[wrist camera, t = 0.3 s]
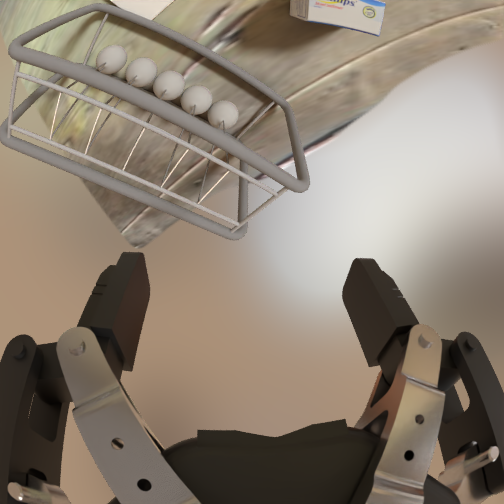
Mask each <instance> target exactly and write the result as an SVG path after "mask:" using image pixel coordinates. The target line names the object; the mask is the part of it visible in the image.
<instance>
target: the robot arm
mask: <svg viewBox="0 0 504 504" xmlns="http://www.w3.org/2000/svg"><path fill="white" fill-rule="evenodd" d="M149 298H150V284H149V279H148V274H147V269H146V263H145V258H144V254H143V253H140V252H123V253H122V254H121V256H120V259H119V260H118V262H117V265H110V266H109V267H108V268H107V269H106V270H104V272H102V273H101V275H100V277H99V279H98V281H97V283H96V286H95V287H94V289H93V291H92V295H90V297H89V300H88V302H87V304H86V306H85V308H84V311H83V313H82V315H81V318H80V320H79V323H78V325H77V327H74V328H71V329H69V330H67V331H66V332H65V333H63V334H62V336H61V337H60V338H59V340H58V342H55V343H48V344H41V345H37V344H36V343H35V341H34V340H33V338H32V337H30V336H28V335H19V336H16V337H15V338H13V339H12V340H11V341H10V342H9V343H8V345H7V347H6V349H5V351H4V354H3V356H2V359H1V362H0V504H71V502H70V501H69V500H68V497H67V496H66V494H65V493H64V491H63V490H62V489H61V488H60V474H61V461H62V450H63V442H64V434H65V427H66V421H67V414H68V409H69V404H70V402H74V405H75V408H74V409H73V410H72V412H73V417H74V420H75V422H76V424H77V427H78V429H79V431H80V433H81V435H82V437H83V440H84V442H85V444H86V446H87V448H88V450H89V452H90V453H91V455H92V457H93V459H94V461H95V463H96V465H97V466H98V468H99V470H100V472H101V473H102V475H103V477H104V478H105V480H106V482H107V483H108V485H109V487H110V488H111V490H112V491H113V493H114V494H115V496H116V497H115V498H113V499H112V500H111V501H110V502H109V503H108V504H480V503H482V502H483V501H484V500H486V499H487V498H488V497H491V496H493V495H496V494H498V493H500V492H503V491H504V393H503V390H502V388H501V385H500V383H499V381H498V378H497V376H496V374H495V372H494V370H493V368H492V365H491V363H490V361H489V360H488V357H487V355H486V353H485V351H484V349H483V347H482V346H481V344H480V342H479V340H478V339H477V338H476V337H475V336H474V335H472V334H471V333H469V332H461V333H460V334H459V335H458V336H457V337H456V339H455V340H454V341H452V340H445V339H441V338H440V336H439V335H438V333H437V332H436V331H435V330H434V329H433V328H431V327H429V326H427V325H424V324H419V322H418V320H417V319H416V317H415V315H414V313H413V312H412V310H411V308H410V306H409V305H408V303H407V301H406V300H405V298H403V295H402V293H401V292H400V290H398V287H397V285H396V284H395V282H394V280H393V279H392V278H391V277H390V276H389V275H387V274H386V273H385V272H384V271H382V270H381V269H380V267H379V266H378V264H377V263H376V261H375V260H374V259H367V258H356V259H354V261H353V262H352V265H351V268H350V271H349V273H348V276H347V279H346V281H345V284H344V287H343V291H342V298H343V302H344V305H345V307H346V309H347V312H348V314H349V317H350V319H351V322H352V324H353V327H354V329H355V332H356V334H357V337H358V339H359V342H360V344H361V347H362V350H363V352H364V355H365V358H366V360H367V363H368V366H369V367H373V366H378V365H380V367H381V369H382V370H381V371H380V372H379V374H378V376H377V380H376V382H375V385H374V387H373V390H372V393H371V395H370V398H369V401H368V403H367V406H366V408H365V410H364V412H363V414H362V416H361V418H360V419H359V420H358V421H357V423H356V425H355V426H354V428H353V427H347V424H346V420H345V419H342V420H337V421H332V422H325V423H320V424H312V425H310V426H307V427H305V428H302V429H299V430H297V431H294V432H291V433H289V434H286V435H283V436H279V437H269V436H263V435H257V434H251V433H246V432H241V431H236V430H231V431H230V430H226V431H222V430H198V434H197V435H198V436H197V437H195V438H190V439H187V440H184V441H181V442H178V443H176V444H174V445H172V446H171V447H169V448H167V449H166V450H165V449H164V447H163V446H162V445H161V443H160V442H159V441H158V439H157V438H156V436H155V435H154V434H153V432H152V431H151V429H150V428H149V427H148V425H147V424H146V422H145V421H144V419H143V418H142V416H141V415H140V413H139V411H138V410H137V408H136V407H135V405H134V403H133V401H132V400H131V398H130V396H129V395H128V393H127V391H126V389H125V388H124V386H123V384H122V382H121V380H120V379H121V374H122V370H124V371H132V370H133V365H134V361H135V356H136V351H137V347H138V342H139V338H140V334H141V330H142V325H143V322H144V318H145V313H146V310H147V306H148V302H149ZM460 378H461V379H462V381H463V383H464V386H465V388H466V391H467V393H468V396H469V399H470V404H469V407H468V409H467V410H466V411H465V412H464V410H463V408H462V405H461V402H460V400H459V397H458V394H457V392H456V389H455V387H454V384H455V383H456V382H457V381H458V380H459V379H460ZM33 395H34V397H33ZM32 399H33V401H32ZM31 403H32V405H31ZM30 407H31V409H30ZM29 411H30V414H29ZM28 417H29V418H28ZM437 437H438V440H439V444H440V447H441V452H442V456H443V460H444V464H445V469H444V471H442V472H441V473H440V474H439V477H438V480H436V479H435V478H433V477H432V476H430V475H428V474H427V473H428V469H429V467H430V463H431V460H432V456H433V453H434V449H435V445H436V441H437Z"/></svg>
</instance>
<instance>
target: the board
mask: <svg viewBox="0 0 504 504" xmlns="http://www.w3.org/2000/svg"><path fill="white" fill-rule="evenodd" d="M110 1H112V2H113V3H114V4H116V5H117V6H118V7H120V8H121V9H124V10H126V11H129V12H132V13H134V14H137V15H139V16H142V17H144V18H147V19H149V20H151V21H152V20H153V19H154V18H155V17H156V16H157V15H159V14H160V13H161V12H162V11H163V10H164V9H165V8H166V7H168V6H169V5H170V4H171V3H172V2H174V1H175V0H110Z"/></svg>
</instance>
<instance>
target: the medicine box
mask: <svg viewBox="0 0 504 504" xmlns="http://www.w3.org/2000/svg"><path fill="white" fill-rule="evenodd" d="M385 5H386V4H385V3H384V2H382V1H378V0H291V1H290V16H293V17H296V18H299V19H302V20H304V21H308V22H315V23H321V24H327V25H332V26H338V27H342V28H347V29H352V30H356V31H360V32H364V33H368V34H372V35H375V36H380V30H381V25H382V20H383V15H384V10H385Z"/></svg>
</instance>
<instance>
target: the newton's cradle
mask: <svg viewBox="0 0 504 504" xmlns="http://www.w3.org/2000/svg"><path fill="white" fill-rule="evenodd" d="M94 11H101V12H106V15H105V17H104V19H103V21H102V23H101V25H100V27H99V29H98V31H97V33H96V35H95V37H94V39H93V42H92V44H91V46H90V48H89V51H88V53H87V56H86V58H85V61H84V63H83V64H82V63H74V62H71V61H68V60H65V59H62V58H59V57H56V56H53V55H50V54H47V53H44V52H40V51H37V50H33V49H30V48H26V47H23V45H25V44H27V43H28V42H30V41H32V40H34V39H35V38H37V37H39V36H41V35H43V34H45V33H46V32H48V31H50V30H52V29H54V28H56V27H58V26H60V25H63V24H65V23H67V22H69V21H71V20H74V19H76V18H78V17H81V16H83V15H86V14H88V13H91V12H94ZM109 14H112V15H115V16H117V17H120V18H123V19H125V20H128V21H131V22H133V23H136V24H138V25H141V26H143V27H145V28H148V29H150V30H152V31H154V32H157V33H159V34H161V35H163V36H165V37H167V38H170V39H172V40H174V41H176V42H178V43H180V44H182V45H184V46H186V47H187V48H189V49H191V50H193V51H195V52H197V53H199V54H201V55H202V56H204V57H206V58H208V59H210V60H211V61H213V62H215V63H216V64H218V65H220V66H222V67H223V68H225V69H226V70H228V71H230V72H231V73H233V74H235V75H236V76H238V77H239V78H241V79H242V80H244V81H246V82H247V83H249V84H250V85H252V86H253V87H255V88H256V89H258V90H259V91H261V92H262V93H263V94H265V95H266V96H268V97H269V98H271V99H272V100H273V101H272V102H271V103H270V104H269V105H268V106H267V107H266V108H265V109H264V110H263V111H262V112H261V113H260V114H259V115H258V116H257V117H256V118H255V119H254V120H253V121H252V122H251V123H250V124H249V125H248V126H247V127H246V128H245V129H244V130H243V131H242V132H241V133H240V134H239V135H238V137H237V138H235V137H233V136H232V135H230V134H228V133H227V132H225V129H228V128H230V127H232V126H233V125H234V124H235V123H236V122H237V119H238V109H237V108H236V106H235V105H234V104H233V103H231V102H229V101H225V100H221V101H217V102H215V103H214V104H213V105H212V106H211V103H212V95H211V92H210V91H209V90H208V89H207V88H206V87H204V86H201V85H194V86H191V87H189V88H187V89H186V90H185V91H184V92H183V90H184V87H185V81H184V78H183V76H182V75H181V74H180V73H178V72H176V71H165V72H162V73H161V74H159V75H158V76H157V77H156V75H157V66H156V64H155V62H154V61H153V60H151V59H149V58H145V57H142V58H137V59H135V60H134V61H132V62H131V63H130V64H129V65H128V67H127V69H126V73H125V76H126V79H127V81H128V82H127V81H125V80H122V79H120V78H118V77H115V76H113V75H111V74H113V73H116V72H118V71H119V70H121V69H122V68H123V67H124V65H125V63H126V61H127V52H126V50H125V49H124V48H123V47H121V46H119V45H110V46H107V47H105V48H104V49H102V50H101V51H100V53H99V54H98V56H97V59H96V66H97V68H93V67H91V66H88V65H86V62H87V60H88V57H89V55H90V53H91V50H92V48H93V46H94V44H95V41H96V39H97V37H98V35H99V33H100V31H101V29H102V27H103V25H104V23H105V21H106V19H107V17H108V15H109ZM8 54H9V55H10V57H11V58H12V59H15V60H17V62H16V67H15V73H14V78H13V84H12V90H11V99H10V108H9V116H8V118H7V119H6V120H5V121H4V122H3V123H2V125H1V126H0V141H1V143H2V144H3V145H5V146H6V147H9V148H11V149H14V150H16V151H18V152H21V153H23V154H26V155H28V156H30V157H33V158H35V159H38V160H40V161H42V162H45V163H48V164H50V165H52V166H54V167H57V168H59V169H62V170H64V171H66V172H69V173H72V174H74V175H76V176H78V177H81V178H83V179H86V180H88V181H90V182H93V183H95V184H98V185H100V186H102V187H105V188H107V189H110V190H112V191H114V192H117V193H119V194H122V195H124V196H126V197H129V198H131V199H134V200H136V201H138V202H141V203H143V204H145V205H148V206H150V207H153V208H155V209H157V210H160V211H162V212H164V213H167V214H169V215H172V216H174V217H176V218H179V219H181V220H184V221H186V222H189V223H191V224H193V225H196V226H198V227H200V228H203V229H205V230H207V231H210V232H212V233H214V234H217V235H219V236H222V237H224V238H226V239H230V240H239V239H241V238H242V237H244V236H245V234H246V232H247V227H248V221H249V220H250V219H251V218H252V217H254V216H255V215H256V214H258V213H259V212H260V211H261V210H263V209H264V208H265V207H266V206H268V205H269V204H270V203H272V202H273V201H274V200H276V199H277V198H278V197H279V196H281V195H282V194H283V193H284V192H286V191H287V190H288V189H290V190H292V191H294V192H298V193H302V192H304V191H306V190H308V188H309V185H310V178H309V173H308V169H307V164H306V160H305V156H304V151H303V147H302V143H301V139H300V135H299V131H298V127H297V123H296V120H295V116H294V112H293V109H292V107H291V106H290V105H289V103H288V102H287V101H286V100H285V99H284V98H283V97H281V96H280V95H279V94H277V93H276V92H275V91H273V90H272V89H271V88H269V87H268V86H266V85H265V84H263V83H262V82H261V81H259V80H258V79H256V78H255V77H253V76H252V75H250V74H249V73H247V72H246V71H244V70H243V69H241V68H240V67H238V66H236V65H235V64H233V63H232V62H230V61H228V60H227V59H225V58H223V57H222V56H220V55H218V54H217V53H215V52H213V51H211V50H210V49H208V48H206V47H204V46H202V45H201V44H199V43H197V42H195V41H193V40H191V39H189V38H187V37H185V36H183V35H181V34H179V33H177V32H175V31H173V30H171V29H169V28H167V27H165V26H163V25H160V24H158V23H156V22H154V21H151V20H149V19H147V18H144V17H142V16H139V15H137V14H134V13H132V12H129V11H126V10H124V9H121V8H118V7H115V6H112V5H109V4H102V3H96V4H91V5H88V6H85V7H82V8H79V9H77V10H74V11H71V12H69V13H66V14H64V15H61V16H59V17H57V18H54V19H52V20H50V21H48V22H45V23H43V24H41V25H39V26H37V27H35V28H33V29H31V30H29V31H27V32H25V33H24V34H22V35H20V36H18V37H17V38H16V39H14V40H13V41H12V43H11V44H10V45H9V48H8ZM21 62H23V63H27V64H30V65H33V66H36V67H39V68H42V69H45V70H48V71H51V72H54V73H56V74H54V75H53V76H52V77H51V78H49V79H48V80H47V81H45V80H42V79H39V78H36V77H33V76H30V75H27V74H24V73H21V72H19V68H20V64H21ZM63 76H65V77H68V78H71V79H73V80H76V81H75V82H74V83H72V84H71V85H70V86H68V87H67V88H64V87H62V86H59V85H56V84H55V83H56V82H57V81H58V80H60V79H61V78H62V77H63ZM18 77H20V78H23V79H26V80H29V81H32V82H35V83H38V84H41V86H40V87H39V88H38V89H36V90H35V91H34V92H33V93H32V94H31V95H30V96H29V97H28V98H27V99H25V100H24V101H23V102H22V104H20V105H19V106H18V107H17V108H16V109H15V110H14V111H13V104H14V97H15V90H16V84H17V78H18ZM155 77H156V79H155ZM154 79H155V81H154V83H153V91H154V93H155V94H153V93H151V92H149V91H147V90H145V89H143V88H140V87H144V86H146V85H148V84H150V83H151V82H152V81H153V80H154ZM78 81H79V82H81V83H84V84H86V85H88V86H87V87H86V88H85V89H84V91H85V90H86V89H87V88H88V87H89V86H91V87H94V88H96V89H99V90H101V91H104V92H106V93H108V94H111V95H113V97H112V98H111V99H110V100H108V101H107V102H106V103H105V104H104V103H102V102H99V101H97V100H95V99H92V98H90V97H87V96H85V95H82V94H83V93H84V91H83V92H82V93H81V94H80V93H77V92H75V91H72V90H70V89H68V88H70V87H71V86H72V85H74V84H75V83H77V82H78ZM49 88H52V89H54V90H57V91H60V96H61V93H65V94H68V95H70V96H73V97H75V98H77V100H76V101H75V102H74V104H73V105H72V106H71V108H70V109H69V110H68V112H67V113H66V115H65V116H64V117H63V119H62V120H61V122H60V123H59V125H58V126H57V128H56V129H55V131H54V132H53V134H52V130H53V125H54V120H55V116H56V112H57V107H58V103H59V100H60V96H59V99H58V103H57V107H56V111H55V116H54V120H53V125H52V130H51V135H52V136H51V135H50V139H47V138H45V137H42V136H40V135H37V134H35V133H32V132H30V131H27V130H25V129H22V128H19V127H17V126H14V125H13V124H14V123H15V122H16V121H17V120H18V119H19V117H20V116H21V115H22V114H23V113H24V112H25V111H26V110H27V109H28V108H29V107H30V106H31V105H32V104H33V103H34V102H35V101H36V100H37V99H38V98H39V97H40V96H41V95H43V94H44V93H45V92H46V91H47V90H48V89H49ZM182 92H183V94H182V96H181V105H182V108H181V107H179V106H177V105H175V104H173V103H171V102H169V101H167V100H173V99H175V98H177V97H178V96H180V95H181V93H182ZM114 97H118V98H120V99H119V101H118V102H117V103H116V105H115V106H114V107H111V106H109V105H107V104H108V103H109V102H110V101H111V100H112V99H113V98H114ZM78 99H80V100H83V101H85V102H88V103H90V104H93V105H95V106H97V107H100V108H101V109H104V110H107V111H109V112H110V113H109V115H108V116H107V118H106V119H105V121H104V122H103V124H102V125H101V127H100V129H99V130H98V132H97V133H96V135H95V137H94V138H93V140H92V142H91V143H90V140H91V137H92V134H93V131H94V128H95V125H96V122H97V120H98V117H99V115H100V112H101V109H100V111H99V114H98V117H97V119H96V122H95V125H94V128H93V130H92V133H91V136H90V139H89V142H88V145H87V149H86V152H85V154H83V153H81V152H79V151H76V150H74V149H71V148H69V147H67V146H64V145H62V144H59V143H57V142H54V141H52V140H51V139H52V137H53V135H54V134H55V132H56V131H57V129H58V128H59V126H60V124H61V123H62V122H63V120H64V119H65V117H66V116H67V114H68V113H69V111H70V110H71V109H72V107H73V106H74V105H75V103H76V102H77V101H78ZM121 99H122V100H124V101H127V102H129V103H131V104H133V105H136V106H138V107H140V108H142V109H144V110H146V111H148V112H151V115H150V116H149V118H148V120H147V122H145V121H142V120H140V119H138V118H136V117H134V116H132V115H129V114H127V113H125V112H123V111H120V110H118V109H116V108H115V107H116V106H117V104H118V103H119V102H120V100H121ZM275 102H276V103H277V104H278V105H279V106H280V107H281V108H282V109H283V110H284V112H285V116H286V121H287V126H288V131H289V136H290V141H291V146H292V151H293V156H294V161H295V167H296V172H297V178H298V179H296V178H295V177H293V176H292V175H290V174H289V173H287V172H286V171H284V170H283V169H281V168H280V167H278V166H277V165H275V164H273V163H272V162H270V161H269V160H267V159H266V158H264V157H262V156H261V155H259V154H258V153H256V152H254V151H253V150H251V149H250V148H248V147H246V146H245V145H244V144H243V143H242V142H241V141H240V140H238V139H239V138H240V137H241V136H242V135H243V134H244V133H245V132H246V131H247V130H248V129H249V128H250V127H251V126H252V125H253V124H254V123H255V122H256V121H257V120H258V119H259V118H260V117H261V116H262V115H263V114H264V113H265V112H266V111H267V110H268V109H269V108H270V107H271V106H272V105H273V104H274V103H275ZM210 106H211V107H210ZM209 107H210V108H209ZM208 109H209V110H208ZM207 110H208V120H209V122H210V123H209V122H207V121H205V120H204V119H202V118H200V117H198V116H196V115H197V114H202V113H204V112H205V111H207ZM111 113H114V114H116V115H118V116H121V117H123V118H125V119H127V120H129V121H132V122H134V123H136V124H138V125H140V126H143V129H142V131H141V133H140V135H139V137H138V138H137V140H136V142H135V144H134V146H133V148H132V150H131V152H130V154H129V156H128V158H127V161H126V163H125V165H124V167H123V169H122V170H121V169H119V168H116V167H114V166H112V165H109V164H107V163H105V162H102V161H100V160H98V159H95V158H93V157H91V156H88V155H86V154H87V152H88V150H89V148H90V146H91V145H92V143H93V141H94V140H95V138H96V136H97V135H98V133H99V132H100V130H101V128H102V127H103V125H104V124H105V122H106V121H107V119H108V118H109V116H110V115H111ZM153 114H155V115H157V116H159V117H161V118H163V119H165V120H167V121H169V122H171V123H173V124H175V125H177V126H179V127H181V128H183V130H182V132H181V134H180V137H179V138H178V137H176V136H174V135H172V134H170V133H167V132H165V131H163V130H161V129H159V128H157V127H155V126H153V125H151V124H149V121H150V119H151V117H152V115H153ZM145 128H147V129H149V130H151V131H153V132H155V133H157V134H159V135H162V136H164V137H166V138H168V139H170V140H172V141H174V142H176V143H177V144H176V147H175V149H174V152H173V154H172V157H171V159H170V162H169V165H168V167H167V170H166V173H165V175H164V178H163V181H162V184H161V186H157V185H155V184H153V183H151V182H148V181H146V180H144V179H142V178H139V177H137V176H135V175H132V174H130V173H128V172H126V171H124V169H125V167H126V165H127V162H128V160H129V158H130V156H131V154H132V152H133V150H134V148H135V146H136V144H137V142H138V140H139V139H140V137H141V135H142V133H143V131H144V129H145ZM11 129H12V130H15V131H17V132H20V133H22V134H25V135H27V136H30V137H32V138H35V139H37V140H40V141H42V142H45V143H47V144H50V145H52V146H55V147H57V148H59V149H62V150H64V151H67V152H69V153H71V154H74V155H76V156H79V157H81V158H83V159H86V160H88V161H90V162H93V163H95V164H98V165H100V166H102V167H105V168H107V169H109V170H112V171H114V172H116V173H119V174H121V175H123V176H126V177H128V178H130V179H133V180H135V181H137V182H139V183H142V184H144V185H146V186H149V187H151V188H153V189H155V190H158V191H160V192H162V193H165V194H167V195H169V196H171V197H174V198H176V199H178V200H180V201H183V202H185V203H187V204H189V205H192V206H194V207H196V208H198V209H200V210H203V211H205V212H207V213H210V214H212V215H214V216H216V217H219V218H221V219H223V220H225V221H227V222H229V223H231V224H233V225H236V226H235V227H234V228H232V229H230V228H228V227H226V226H223V225H221V224H219V223H217V222H214V221H212V220H210V219H207V218H205V217H203V216H201V215H198V214H196V213H194V212H192V211H189V210H187V209H185V208H182V207H180V206H178V205H176V204H173V203H171V202H169V201H166V200H164V199H162V198H160V197H157V196H155V195H153V194H150V193H148V192H146V191H143V190H141V189H139V188H136V187H134V186H132V185H129V184H127V183H125V182H122V181H120V180H118V179H115V178H113V177H111V176H108V175H106V174H104V173H101V172H99V171H97V170H94V169H92V168H89V167H87V166H85V165H82V164H80V163H77V162H75V161H73V160H70V159H68V158H65V157H63V156H61V155H58V154H56V153H53V152H51V151H48V150H46V149H43V148H41V147H39V146H36V145H34V144H31V143H29V142H27V141H24V140H22V139H19V138H17V137H14V136H12V135H11ZM184 129H185V130H187V131H189V132H190V133H189V139H188V143H187V142H185V141H184V140H182V139H180V138H181V136H182V133H183V131H184ZM221 129H224V131H223V130H221ZM191 133H192V134H194V135H196V136H198V137H200V138H202V139H204V140H206V141H208V142H209V143H211V144H213V147H212V151H211V154H209V153H207V152H205V151H203V150H201V149H199V148H197V147H195V146H193V145H191V144H190V139H191ZM89 143H90V145H89ZM178 144H180V145H182V146H184V147H186V148H187V151H188V150H189V149H190V150H192V151H194V152H196V153H198V154H200V155H201V156H203V157H205V158H207V159H209V161H208V165H207V168H206V172H205V175H204V179H203V183H202V187H201V191H200V194H199V198H198V202H197V203H195V202H193V201H191V200H189V199H186V198H184V197H182V196H180V195H178V194H175V193H173V192H171V191H169V190H166V189H164V188H162V186H163V185H164V183H165V182H166V180H167V179H168V177H169V176H170V174H171V173H172V172H173V170H174V169H175V167H176V166H177V165H178V163H179V162H180V161H181V159H182V158H183V157H184V155H185V154H186V153H187V151H186V152H185V153H184V155H183V156H182V157H181V159H180V160H179V161H178V163H177V164H176V166H175V167H174V168H173V170H172V171H171V173H170V174H169V175H168V177H167V178H166V175H167V172H168V169H169V167H170V164H171V161H172V159H173V156H174V153H175V151H176V148H177V146H178ZM214 145H215V146H217V147H218V148H220V149H222V150H224V151H226V160H227V163H225V162H223V161H222V160H220V159H218V158H216V157H214V156H212V152H213V149H214ZM88 146H89V147H88ZM228 153H229V154H231V155H233V156H235V157H236V158H238V159H240V170H238V169H236V168H234V167H233V166H231V165H229V162H228ZM210 160H211V161H213V162H215V163H217V164H219V165H220V166H222V167H224V168H226V169H227V170H228V172H229V171H232V172H233V173H235V174H237V175H239V200H238V222H236V221H234V220H232V219H230V218H228V217H226V216H223V215H221V214H219V213H217V212H215V211H213V210H210V209H208V208H206V207H204V206H202V205H200V204H199V203H200V202H201V200H202V199H203V198H204V197H205V196H206V195H207V194H208V193H209V192H210V191H211V190H212V189H213V188H214V187H215V186H216V185H217V183H218V182H219V181H220V180H221V179H222V178H223V177H224V176H225V175H226V174H227V173H228V172H227V173H226V174H225V175H224V176H223V177H222V178H221V179H220V180H219V181H218V182H217V183H216V184H215V185H214V186H213V187H212V188H211V189H210V190H209V191H208V193H207V194H206V195H205V196H204V197H203V198H202V199H201V200H200V197H201V193H202V189H203V185H204V182H205V178H206V174H207V170H208V167H209V163H210ZM248 165H250V166H252V167H253V168H255V169H257V170H258V171H260V172H262V173H263V174H265V175H267V176H268V177H270V178H272V179H273V180H275V181H277V182H278V183H280V184H281V185H283V186H285V187H284V188H282V189H281V190H280V191H279V192H276V191H274V190H273V189H271V188H269V187H268V186H266V185H264V184H262V183H261V182H259V181H257V180H256V179H254V178H252V177H250V176H249V175H248ZM165 178H166V180H165ZM164 180H165V181H164ZM248 181H250V182H251V183H253V184H255V185H257V186H258V187H260V188H262V189H264V190H266V191H267V192H269V193H271V194H273V196H272V197H271V198H270V199H268V200H267V201H266V202H265V203H264V204H262V205H261V206H260V207H259V208H257V209H256V210H255V211H253V212H252V213H251V214H250V215H249V216H248Z"/></svg>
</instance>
